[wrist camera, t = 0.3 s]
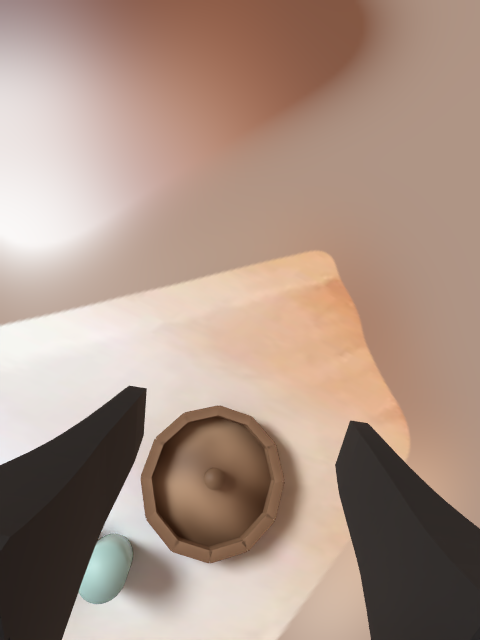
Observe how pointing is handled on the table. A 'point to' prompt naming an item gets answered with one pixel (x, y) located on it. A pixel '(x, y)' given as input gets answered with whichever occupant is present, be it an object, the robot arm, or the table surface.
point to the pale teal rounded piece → (107, 569)
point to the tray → (212, 484)
